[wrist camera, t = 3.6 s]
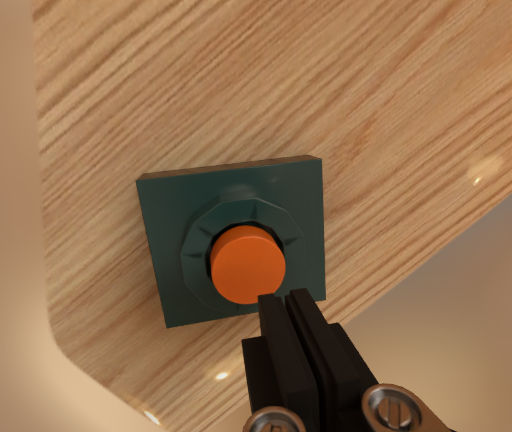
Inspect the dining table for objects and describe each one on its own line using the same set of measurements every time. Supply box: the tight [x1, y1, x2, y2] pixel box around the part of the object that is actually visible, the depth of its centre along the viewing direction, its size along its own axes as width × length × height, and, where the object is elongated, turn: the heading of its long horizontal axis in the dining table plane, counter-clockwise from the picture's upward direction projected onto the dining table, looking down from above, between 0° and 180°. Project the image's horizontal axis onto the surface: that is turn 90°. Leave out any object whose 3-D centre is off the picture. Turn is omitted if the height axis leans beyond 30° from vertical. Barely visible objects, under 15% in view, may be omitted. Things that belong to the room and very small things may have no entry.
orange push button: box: [210, 225, 285, 304], centre depth 16 cm, size 4×4×2 cm
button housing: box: [136, 155, 326, 328], centre depth 18 cm, size 10×9×4 cm
